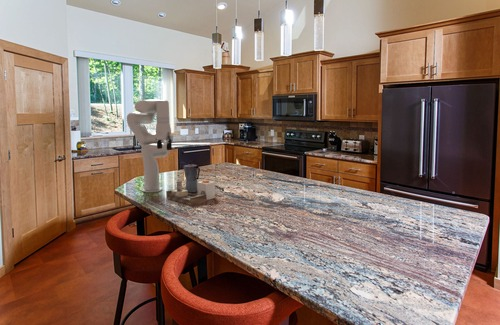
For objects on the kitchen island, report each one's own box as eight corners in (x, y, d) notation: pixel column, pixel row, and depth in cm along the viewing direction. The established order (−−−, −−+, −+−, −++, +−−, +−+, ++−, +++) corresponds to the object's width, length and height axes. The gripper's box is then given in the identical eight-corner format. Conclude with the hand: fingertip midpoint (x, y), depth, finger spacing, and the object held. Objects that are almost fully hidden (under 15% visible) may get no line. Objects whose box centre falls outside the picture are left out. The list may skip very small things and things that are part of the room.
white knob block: (197, 198, 202) (196, 182, 201) (206, 195, 208) (205, 180, 206) (205, 200, 197) (205, 184, 195) (214, 197, 203) (214, 182, 201)
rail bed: (166, 198, 202) (166, 191, 201) (181, 194, 210) (180, 187, 209) (192, 205, 186) (191, 198, 185) (206, 201, 194) (206, 194, 194)
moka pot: (189, 188, 227) (188, 160, 224) (206, 191, 218) (205, 162, 215) (179, 191, 219) (178, 161, 216) (196, 194, 210) (195, 164, 207)
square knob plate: (171, 195, 201) (171, 181, 200) (180, 193, 207) (180, 179, 205) (178, 197, 197) (178, 182, 195) (187, 195, 202) (187, 180, 201)
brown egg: (201, 187, 201) (201, 180, 201) (206, 186, 204) (206, 179, 204) (205, 188, 199) (205, 181, 198) (210, 187, 202) (210, 180, 201)
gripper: (149, 120, 199) (151, 148, 202) (166, 121, 188) (167, 150, 191) (160, 120, 205) (161, 147, 208) (177, 121, 194) (178, 149, 197)
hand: (164, 149), depth 199 cm, fingers open, 9 cm apart
